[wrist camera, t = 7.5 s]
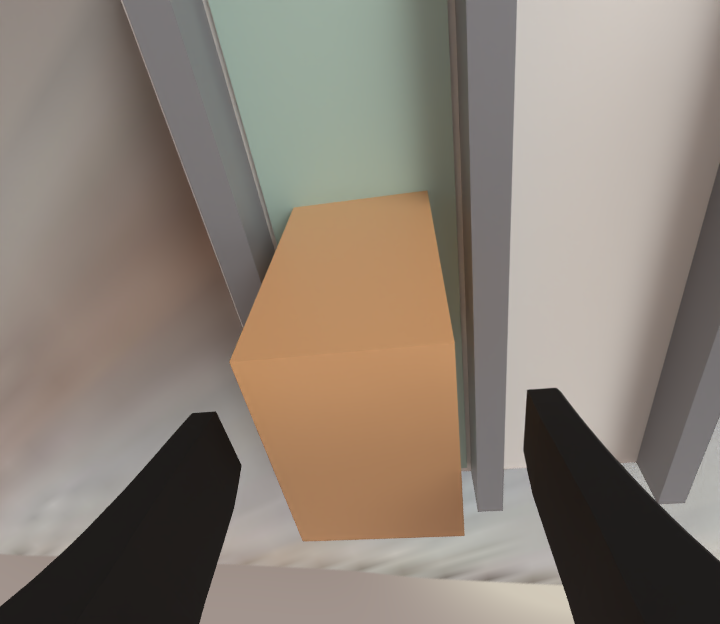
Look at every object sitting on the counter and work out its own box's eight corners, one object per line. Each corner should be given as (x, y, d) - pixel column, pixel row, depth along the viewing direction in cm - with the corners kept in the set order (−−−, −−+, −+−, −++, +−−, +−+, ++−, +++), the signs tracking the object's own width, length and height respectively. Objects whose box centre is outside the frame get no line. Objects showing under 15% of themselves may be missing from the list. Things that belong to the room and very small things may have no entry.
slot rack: (891, -203, 10) (1062, -264, 7) (674, 440, 21) (712, 501, 19) (124, -41, 12) (55, -46, 9) (302, 462, 23) (291, 519, 21)
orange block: (427, 190, 14) (454, 342, 8) (439, 349, 17) (464, 535, 11) (293, 207, 14) (229, 362, 8) (330, 358, 18) (302, 541, 12)
